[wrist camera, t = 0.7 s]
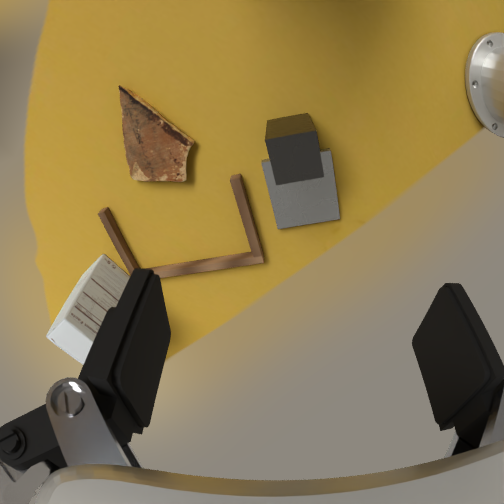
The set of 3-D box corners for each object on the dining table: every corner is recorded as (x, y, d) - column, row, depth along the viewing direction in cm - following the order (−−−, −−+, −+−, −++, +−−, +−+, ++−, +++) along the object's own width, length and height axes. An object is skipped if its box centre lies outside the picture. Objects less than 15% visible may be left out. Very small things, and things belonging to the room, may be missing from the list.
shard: (124, 83, 27) (116, 85, 26) (195, 77, 27) (190, 79, 25) (133, 176, 34) (127, 182, 32) (198, 176, 33) (194, 183, 32)
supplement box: (116, 304, 46) (86, 368, 36) (81, 274, 43) (43, 336, 33) (142, 285, 43) (111, 356, 33) (104, 251, 40) (62, 319, 30)
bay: (240, 173, 32) (239, 178, 31) (264, 256, 39) (263, 262, 38) (102, 208, 36) (97, 213, 35) (137, 275, 42) (134, 281, 41)
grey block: (252, 123, 29) (246, 143, 24) (322, 110, 28) (335, 127, 22) (277, 225, 36) (277, 263, 30) (338, 215, 34) (350, 252, 29)
